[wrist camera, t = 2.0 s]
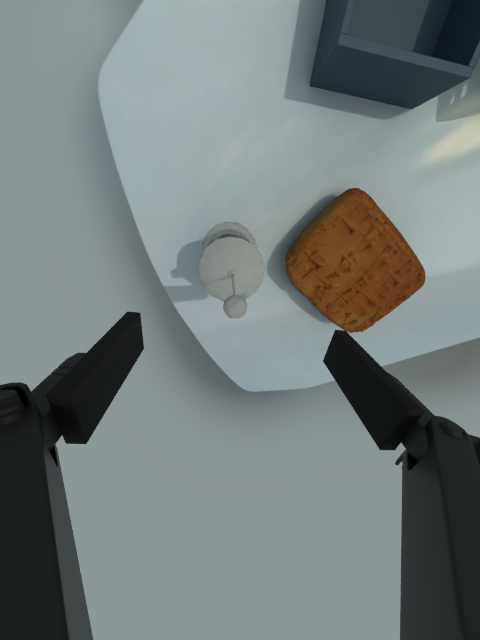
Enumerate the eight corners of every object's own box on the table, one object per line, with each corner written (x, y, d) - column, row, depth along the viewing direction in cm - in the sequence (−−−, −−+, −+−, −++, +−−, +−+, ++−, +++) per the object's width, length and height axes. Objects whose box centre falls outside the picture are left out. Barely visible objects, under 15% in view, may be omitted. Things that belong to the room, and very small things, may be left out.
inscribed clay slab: (405, 269, 41) (442, 282, 34) (335, 326, 47) (354, 346, 39) (344, 178, 33) (376, 170, 26) (268, 258, 39) (277, 269, 32)
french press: (255, 219, 35) (303, 235, 13) (258, 284, 41) (296, 371, 19) (197, 225, 35) (151, 251, 13) (209, 289, 41) (189, 383, 19)
